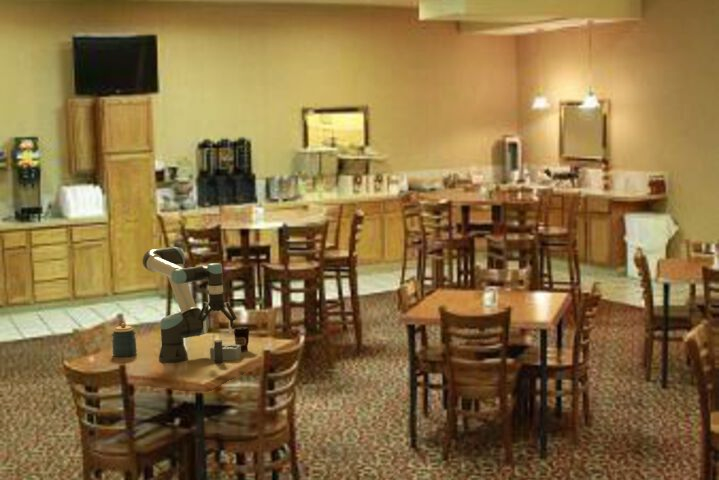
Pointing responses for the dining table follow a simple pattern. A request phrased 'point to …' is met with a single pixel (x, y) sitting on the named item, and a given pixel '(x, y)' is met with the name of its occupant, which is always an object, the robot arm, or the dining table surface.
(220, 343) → the plug
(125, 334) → the canister
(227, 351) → the socket box
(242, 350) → the coffee cup
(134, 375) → the dining table surface
